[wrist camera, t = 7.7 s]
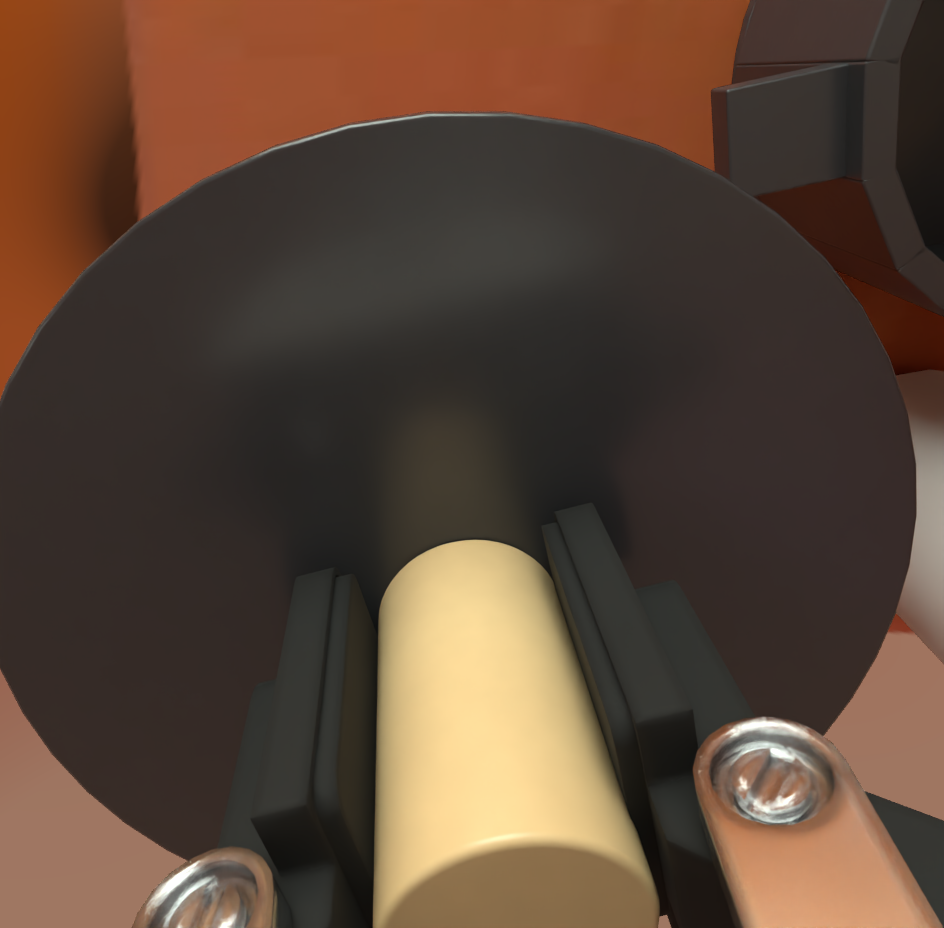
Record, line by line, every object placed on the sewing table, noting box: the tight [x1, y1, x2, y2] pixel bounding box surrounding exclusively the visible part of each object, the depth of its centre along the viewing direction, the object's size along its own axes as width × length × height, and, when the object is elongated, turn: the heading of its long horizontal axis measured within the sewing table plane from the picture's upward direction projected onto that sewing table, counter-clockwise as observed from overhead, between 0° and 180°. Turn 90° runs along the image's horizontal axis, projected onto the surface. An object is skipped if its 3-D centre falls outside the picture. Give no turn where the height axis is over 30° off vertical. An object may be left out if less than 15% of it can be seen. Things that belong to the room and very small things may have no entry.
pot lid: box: [0, 111, 917, 928], centre depth 10 cm, size 13×13×6 cm
